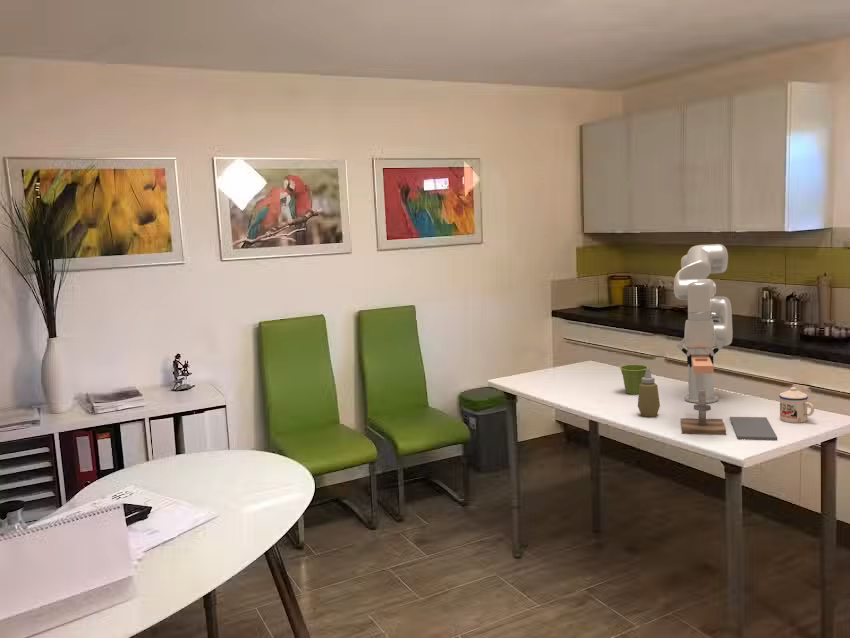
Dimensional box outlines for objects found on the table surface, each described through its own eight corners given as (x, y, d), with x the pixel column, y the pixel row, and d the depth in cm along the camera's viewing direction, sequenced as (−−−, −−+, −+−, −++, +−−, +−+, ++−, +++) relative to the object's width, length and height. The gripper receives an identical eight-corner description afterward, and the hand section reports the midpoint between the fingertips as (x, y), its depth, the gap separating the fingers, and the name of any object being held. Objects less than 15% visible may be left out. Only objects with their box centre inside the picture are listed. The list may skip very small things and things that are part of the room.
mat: (729, 419, 257) (729, 416, 257) (766, 419, 254) (766, 417, 254) (737, 439, 235) (737, 436, 235) (777, 440, 231) (777, 437, 231)
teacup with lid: (773, 419, 254) (773, 387, 252) (789, 414, 258) (789, 383, 256) (805, 426, 243) (805, 393, 242) (821, 421, 248) (821, 389, 246)
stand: (680, 422, 258) (679, 386, 256) (722, 423, 254) (721, 386, 252) (682, 433, 245) (681, 395, 243) (726, 434, 240) (725, 395, 239)
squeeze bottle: (661, 417, 265) (660, 370, 263) (639, 418, 267) (637, 371, 264) (658, 412, 273) (657, 366, 271) (637, 412, 275) (635, 366, 272)
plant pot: (620, 396, 300) (620, 370, 299) (620, 389, 312) (619, 364, 310) (650, 396, 298) (649, 369, 296) (648, 389, 309) (647, 364, 307)
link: (690, 361, 257) (690, 354, 256) (708, 361, 255) (708, 354, 255) (693, 373, 238) (693, 366, 238) (713, 373, 236) (713, 365, 236)
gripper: (724, 314, 252) (725, 364, 254) (673, 315, 257) (674, 364, 259) (726, 317, 245) (727, 368, 247) (673, 318, 250) (675, 368, 252)
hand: (700, 365), depth 253 cm, fingers closed on link, 5 cm apart
